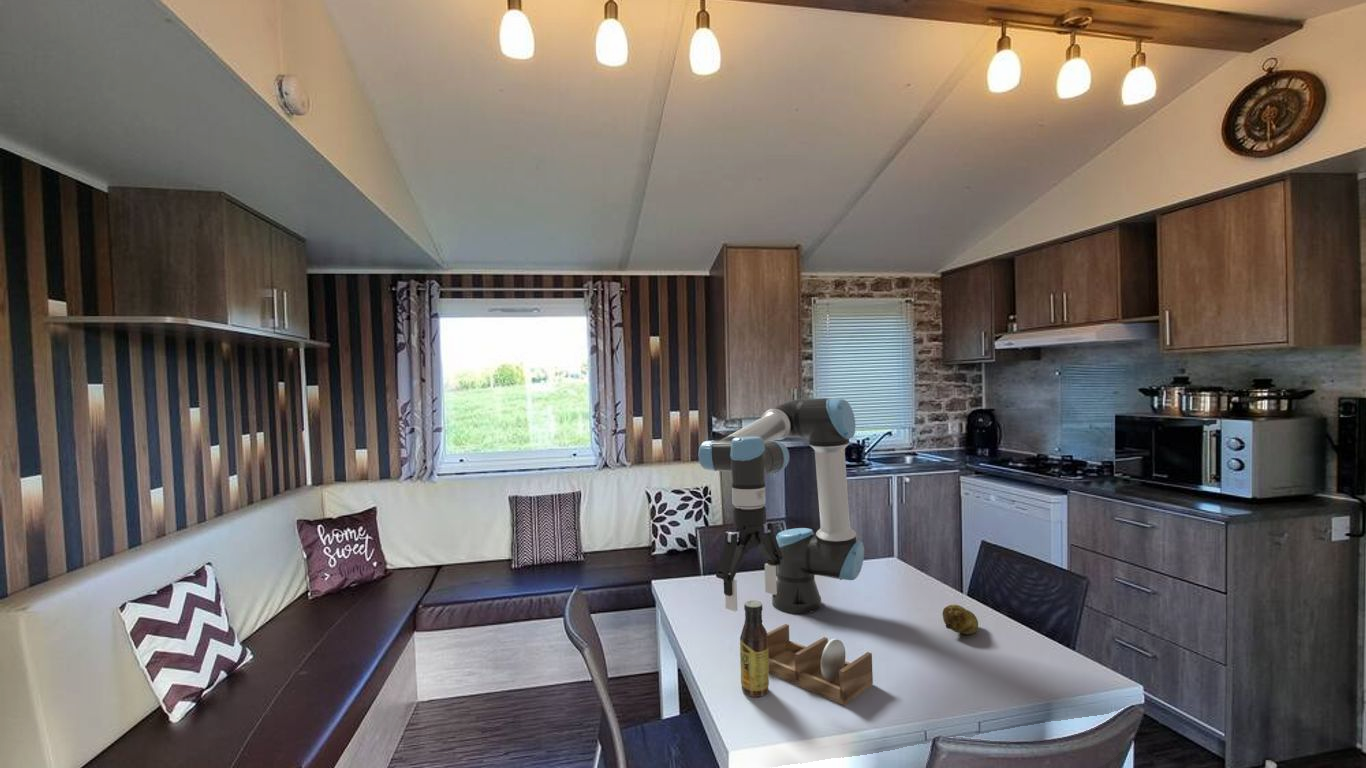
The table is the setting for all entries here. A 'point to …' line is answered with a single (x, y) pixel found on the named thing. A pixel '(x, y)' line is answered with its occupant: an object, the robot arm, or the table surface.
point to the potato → (960, 619)
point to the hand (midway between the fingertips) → (752, 601)
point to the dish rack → (819, 666)
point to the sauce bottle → (754, 651)
